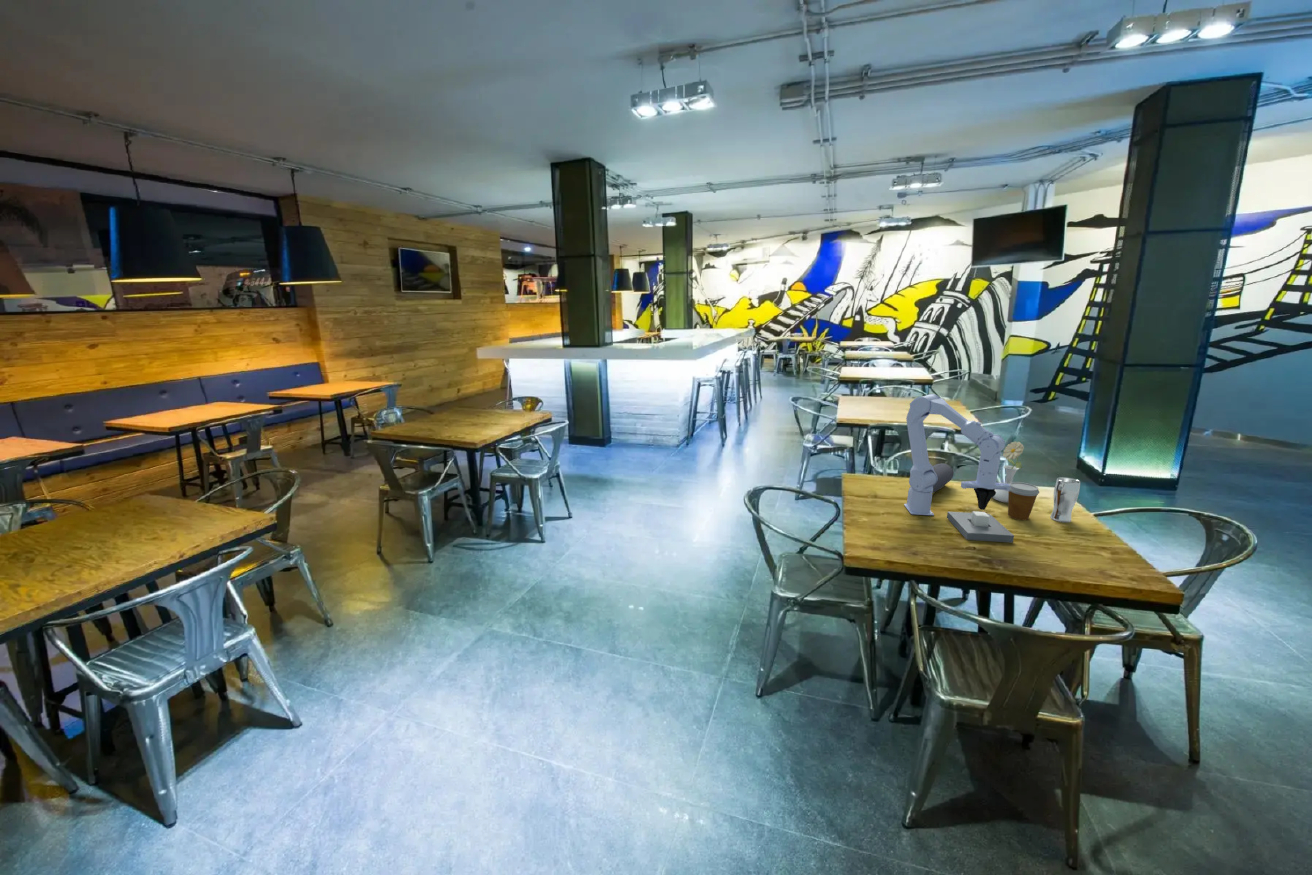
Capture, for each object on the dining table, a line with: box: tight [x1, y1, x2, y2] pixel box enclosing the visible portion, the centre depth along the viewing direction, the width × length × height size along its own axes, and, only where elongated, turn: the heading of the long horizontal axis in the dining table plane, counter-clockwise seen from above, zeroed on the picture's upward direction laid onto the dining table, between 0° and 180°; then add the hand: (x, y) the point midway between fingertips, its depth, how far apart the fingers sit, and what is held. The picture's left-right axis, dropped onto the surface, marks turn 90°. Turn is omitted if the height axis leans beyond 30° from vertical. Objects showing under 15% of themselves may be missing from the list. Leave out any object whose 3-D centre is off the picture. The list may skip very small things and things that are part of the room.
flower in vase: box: [992, 440, 1025, 504], centre depth 201 cm, size 13×11×25 cm
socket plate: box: [946, 511, 1015, 544], centre depth 179 cm, size 18×14×2 cm
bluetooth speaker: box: [932, 462, 954, 494], centre depth 215 cm, size 23×9×10 cm, turn 133°
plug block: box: [970, 510, 990, 527], centre depth 178 cm, size 4×4×6 cm
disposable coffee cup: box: [1007, 481, 1040, 521], centre depth 188 cm, size 10×10×12 cm
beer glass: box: [1050, 476, 1081, 524], centre depth 185 cm, size 7×7×15 cm
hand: (981, 508), depth 177 cm, fingers closed
